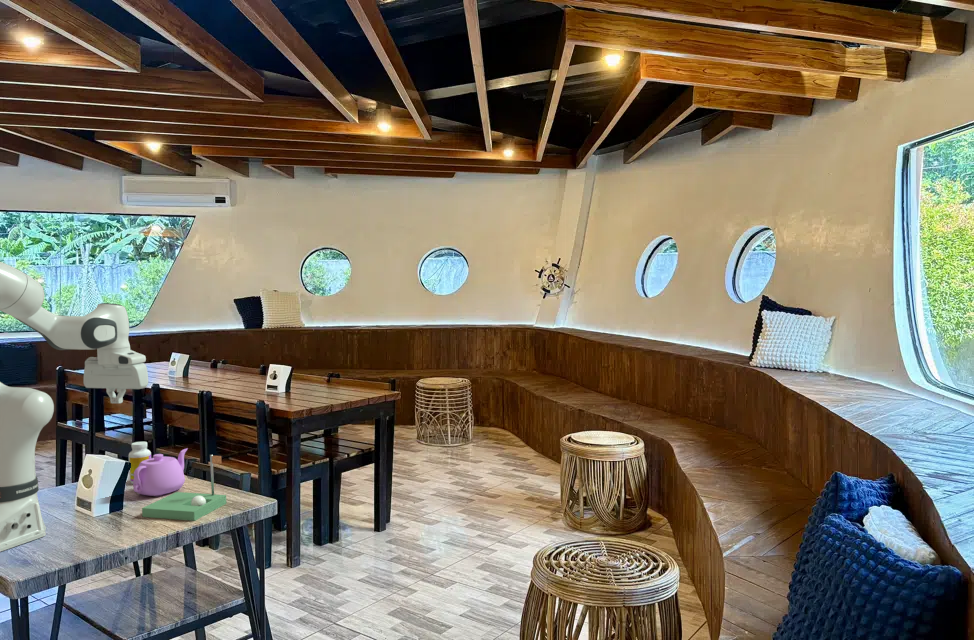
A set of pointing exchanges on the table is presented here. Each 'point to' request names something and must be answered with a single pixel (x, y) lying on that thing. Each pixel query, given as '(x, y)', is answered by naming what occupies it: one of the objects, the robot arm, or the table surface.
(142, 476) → the teapot
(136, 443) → the supplement bottle
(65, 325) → the robot arm
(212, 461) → the flag pin
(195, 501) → the ball
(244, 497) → the table surface
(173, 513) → the mat
